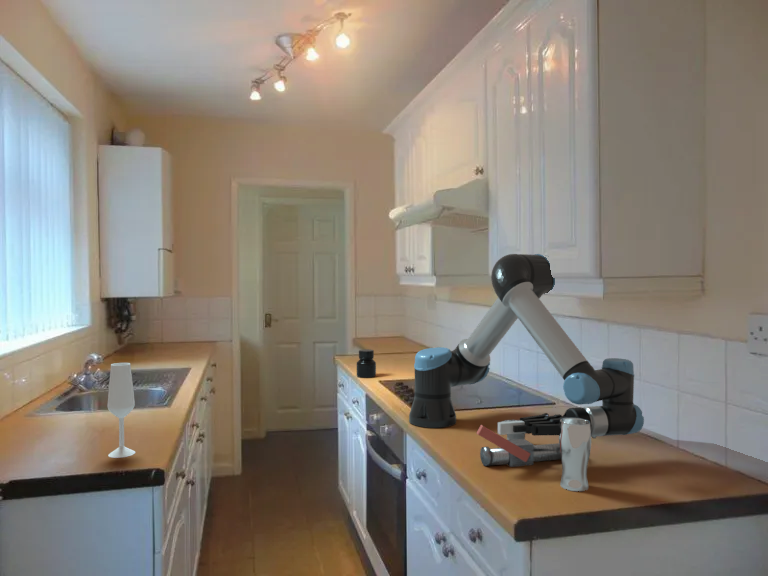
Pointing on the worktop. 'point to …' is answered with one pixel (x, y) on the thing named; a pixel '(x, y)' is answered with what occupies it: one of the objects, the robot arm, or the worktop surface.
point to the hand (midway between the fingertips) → (499, 428)
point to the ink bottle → (366, 364)
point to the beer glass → (574, 452)
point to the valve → (504, 457)
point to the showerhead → (515, 436)
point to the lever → (504, 444)
